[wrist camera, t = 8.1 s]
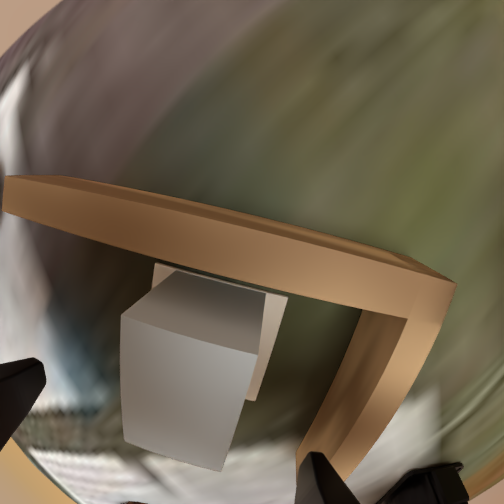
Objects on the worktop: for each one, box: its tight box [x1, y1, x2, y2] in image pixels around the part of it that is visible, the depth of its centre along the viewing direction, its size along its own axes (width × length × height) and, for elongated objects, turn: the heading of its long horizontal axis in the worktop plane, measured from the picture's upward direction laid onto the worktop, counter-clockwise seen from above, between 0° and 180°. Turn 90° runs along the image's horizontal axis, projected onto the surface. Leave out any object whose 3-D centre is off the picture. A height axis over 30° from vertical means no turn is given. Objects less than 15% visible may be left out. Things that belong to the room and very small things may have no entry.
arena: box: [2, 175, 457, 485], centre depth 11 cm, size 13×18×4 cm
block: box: [120, 270, 266, 472], centre depth 11 cm, size 4×6×5 cm, turn 167°
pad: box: [152, 262, 288, 401], centre depth 13 cm, size 6×6×1 cm
